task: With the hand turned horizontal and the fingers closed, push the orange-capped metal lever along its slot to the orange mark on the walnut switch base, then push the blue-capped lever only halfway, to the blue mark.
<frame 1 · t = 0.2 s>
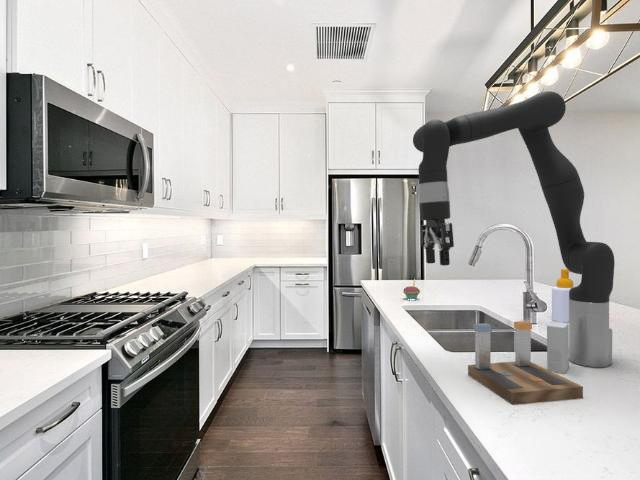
hand: (437, 264, 104), 28 cm above the worktop, tool pointing down, fingers open, 8 cm apart
cupcake: (411, 300, 213), on the worktop
soap bottle: (564, 320, 163), on the worktop
lever blue: (482, 346, 101), point 8 cm above the worktop, slide at 0.0 cm
lever orange: (522, 343, 102), point 8 cm above the worktop, slide at 0.0 cm
skincare box: (557, 369, 107), on the worktop
switch base: (521, 385, 96), on the worktop
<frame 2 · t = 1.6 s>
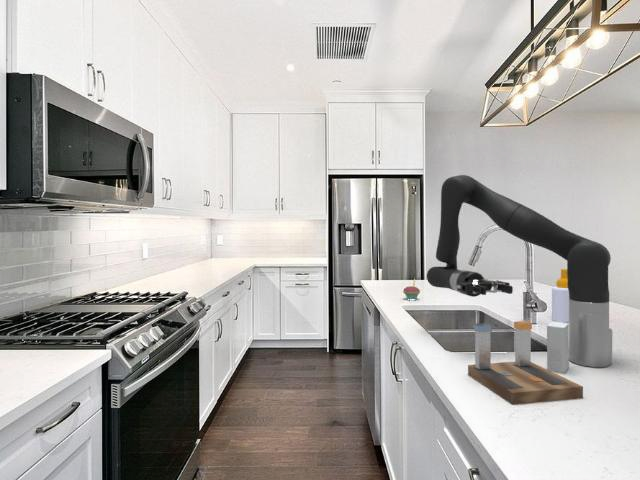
hand: (498, 290, 112), 20 cm above the worktop, tool horizontal, fingers open, 7 cm apart
nothing on the worktop moved.
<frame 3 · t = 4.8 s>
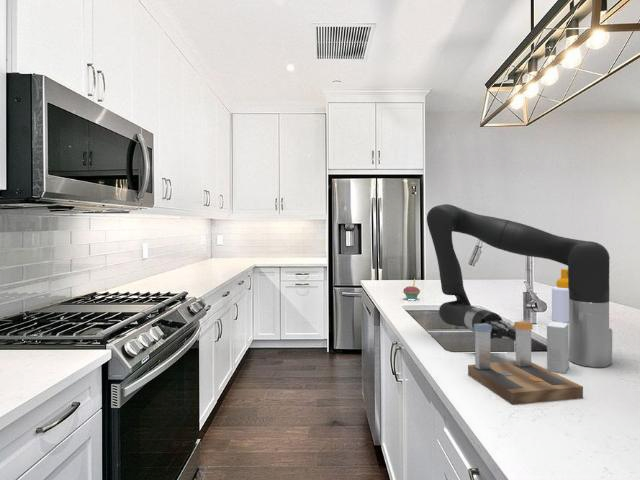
hand: (521, 337, 103), 10 cm above the worktop, tool horizontal, fingers closed
lever orange: (523, 343, 102), point 8 cm above the worktop, slide at 0.2 cm, touching gripper
everything else where it was.
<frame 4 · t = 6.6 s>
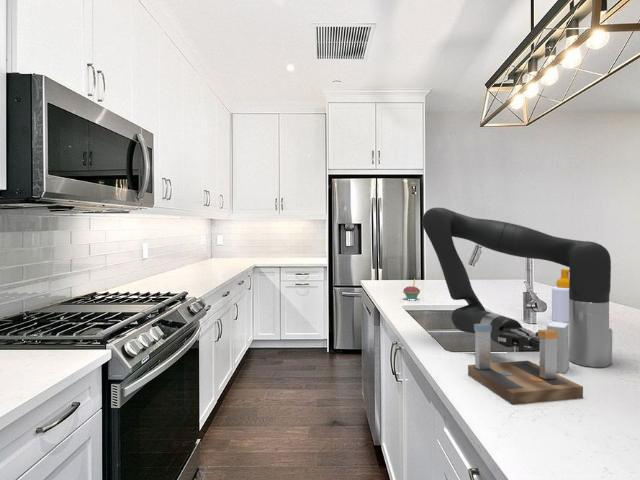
hand: (545, 347, 94), 10 cm above the worktop, tool horizontal, fingers closed
lever orange: (548, 354, 94), point 8 cm above the worktop, slide at 8.8 cm, touching gripper
everything else where it was.
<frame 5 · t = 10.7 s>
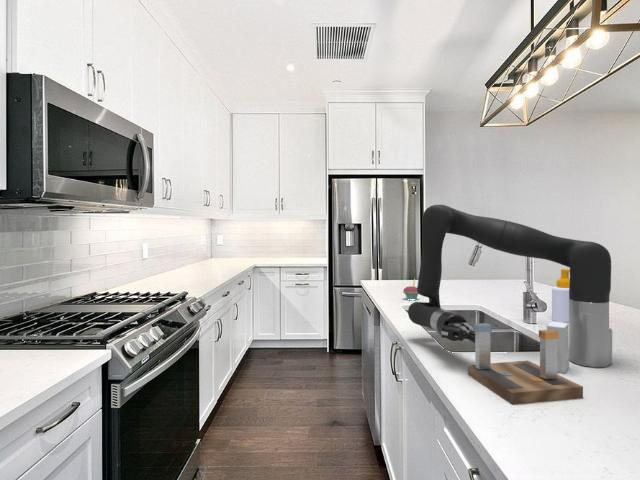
hand: (480, 340, 101), 10 cm above the worktop, tool horizontal, fingers closed
lever blue: (482, 346, 101), point 8 cm above the worktop, slide at 0.0 cm, touching gripper
lever orange: (548, 354, 93), point 8 cm above the worktop, slide at 9.0 cm
everything else where it was.
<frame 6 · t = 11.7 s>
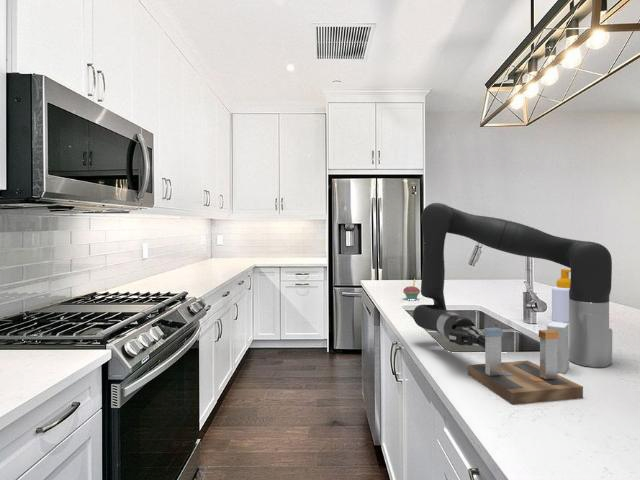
hand: (491, 344, 97), 10 cm above the worktop, tool horizontal, fingers closed
lever blue: (493, 351, 96), point 8 cm above the worktop, slide at 4.4 cm, touching gripper
everything else where it was.
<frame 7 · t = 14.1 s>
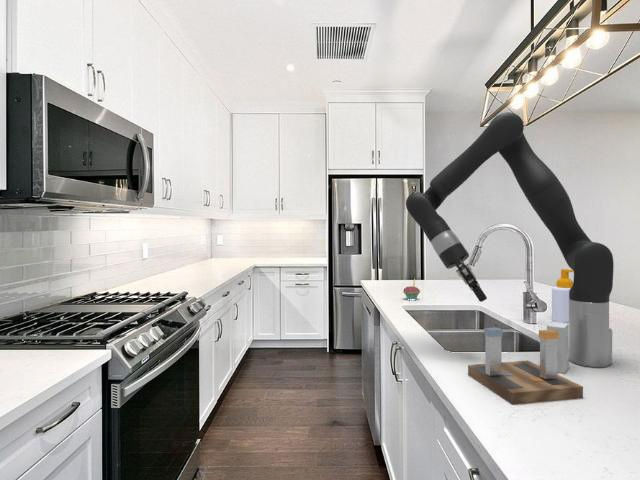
hand: (483, 300, 113), 17 cm above the worktop, tool tilted 35°, fingers closed
lever blue: (493, 351, 96), point 8 cm above the worktop, slide at 4.5 cm
everything else where it was.
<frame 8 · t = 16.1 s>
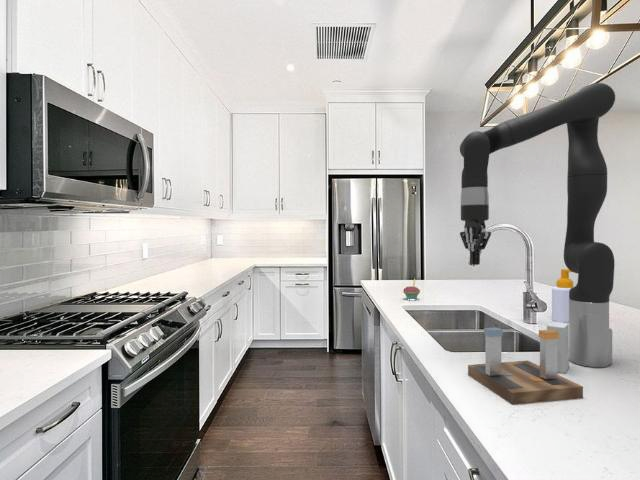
hand: (474, 264, 116), 27 cm above the worktop, tool pointing down, fingers closed
nothing on the worktop moved.
at the end: lever orange slide at 9.0 cm; lever blue slide at 4.5 cm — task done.
